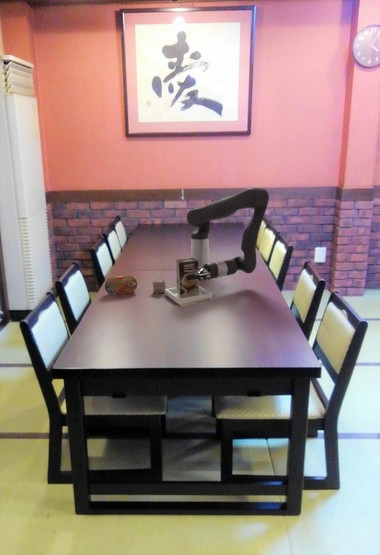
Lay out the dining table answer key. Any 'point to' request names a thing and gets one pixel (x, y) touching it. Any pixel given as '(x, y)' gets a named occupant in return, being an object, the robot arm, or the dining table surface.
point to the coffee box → (182, 270)
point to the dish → (188, 299)
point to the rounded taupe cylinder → (159, 286)
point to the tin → (120, 285)
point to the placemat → (195, 302)
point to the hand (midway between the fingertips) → (183, 275)
